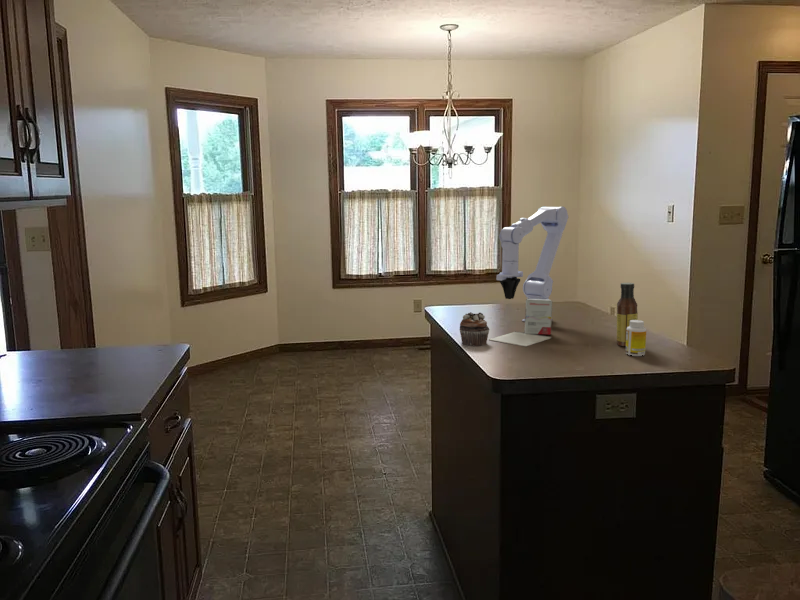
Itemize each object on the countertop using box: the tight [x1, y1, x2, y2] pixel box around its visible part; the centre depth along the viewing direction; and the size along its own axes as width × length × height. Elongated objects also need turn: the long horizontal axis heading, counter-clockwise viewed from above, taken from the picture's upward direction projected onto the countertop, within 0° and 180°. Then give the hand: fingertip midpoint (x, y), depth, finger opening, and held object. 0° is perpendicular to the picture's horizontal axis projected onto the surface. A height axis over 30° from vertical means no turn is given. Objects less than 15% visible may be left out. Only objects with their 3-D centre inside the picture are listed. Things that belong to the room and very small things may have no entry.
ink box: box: [524, 298, 553, 336], centre depth 222 cm, size 9×5×12 cm, turn 84°
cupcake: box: [459, 312, 490, 347], centre depth 208 cm, size 10×10×10 cm
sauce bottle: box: [616, 282, 639, 348], centre depth 203 cm, size 7×6×20 cm
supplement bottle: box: [625, 319, 647, 357], centre depth 192 cm, size 6×6×10 cm
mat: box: [488, 331, 553, 347], centre depth 214 cm, size 16×14×1 cm
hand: (509, 298), depth 233 cm, fingers closed
